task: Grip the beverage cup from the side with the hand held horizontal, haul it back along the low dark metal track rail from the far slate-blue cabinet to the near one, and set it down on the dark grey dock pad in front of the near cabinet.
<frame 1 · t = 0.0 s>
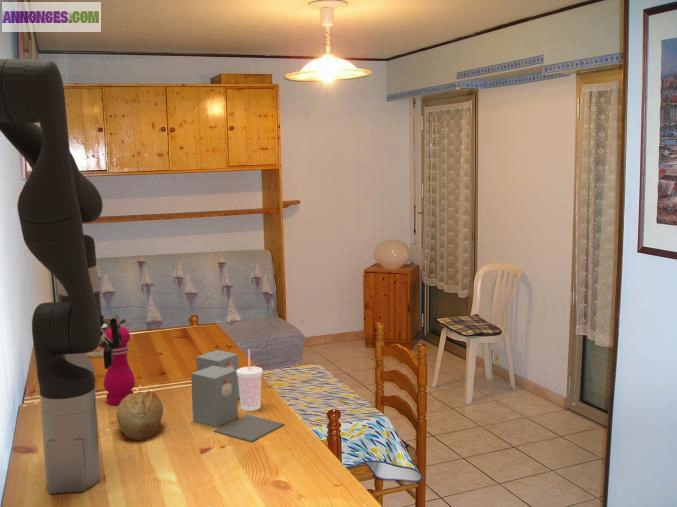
hand: (85, 368, 137), 17 cm above the table, tool pointing down, fingers open, 8 cm apart
bread roll: (141, 430, 151), on the table
pepper mill: (120, 401, 169), on the table
far cabinet: (218, 399, 169), on the table
near cabinet dock: (215, 419, 156), on the table
pastry: (216, 377, 187), on the table
track rail: (217, 408, 163), on the table
beverage cup: (250, 408, 163), on the table
coffee pot: (91, 380, 185), on the table
teacup with lid: (105, 353, 211), on the table
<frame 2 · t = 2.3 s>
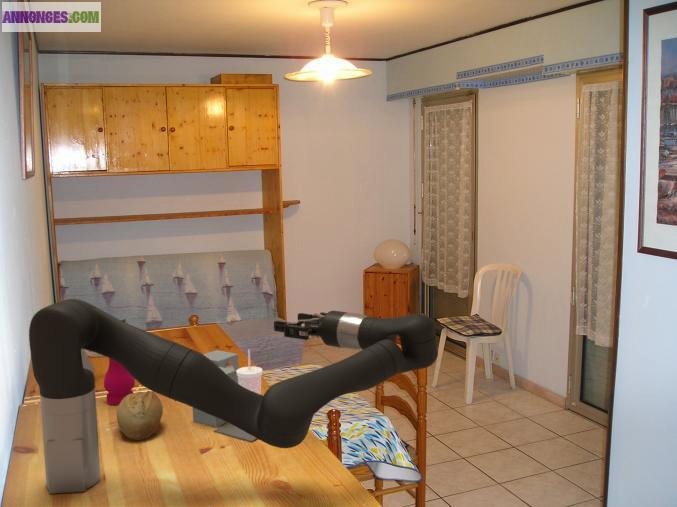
hand: (287, 321, 154), 22 cm above the table, tool horizontal, fingers open, 8 cm apart
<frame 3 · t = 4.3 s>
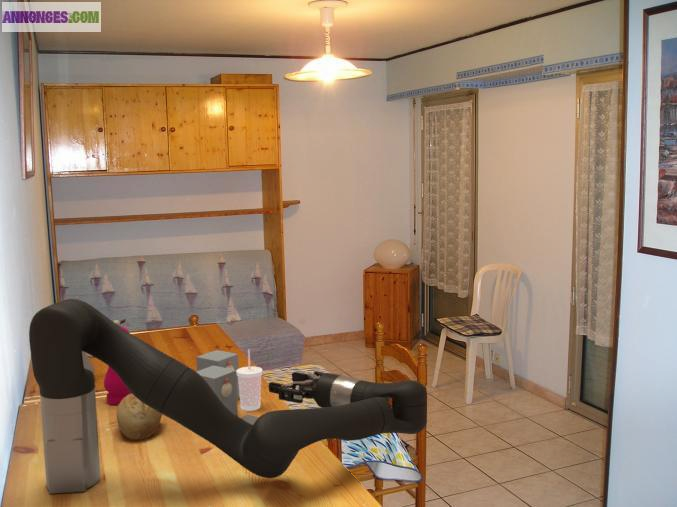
hand: (281, 381, 158), 8 cm above the table, tool horizontal, fingers open, 8 cm apart
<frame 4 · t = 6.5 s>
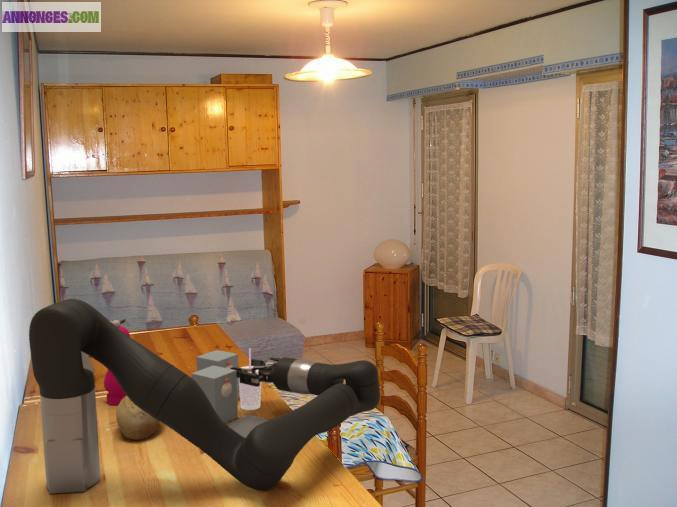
hand: (240, 367, 164), 9 cm above the table, tool horizontal, fingers closed on beverage cup, 6 cm apart
beverage cup: (250, 407, 163), on the table, touching gripper
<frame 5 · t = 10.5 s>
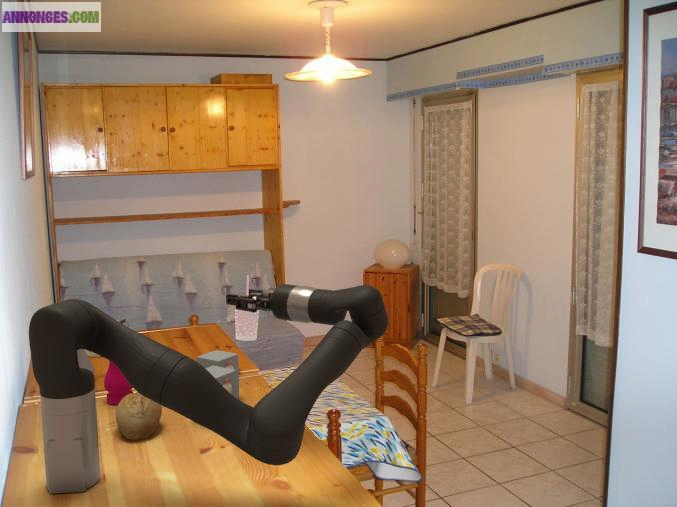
hand: (237, 296, 153), 28 cm above the table, tool horizontal, fingers closed on beverage cup, 6 cm apart
beverage cup: (246, 339, 152), point 19 cm above the table, touching gripper
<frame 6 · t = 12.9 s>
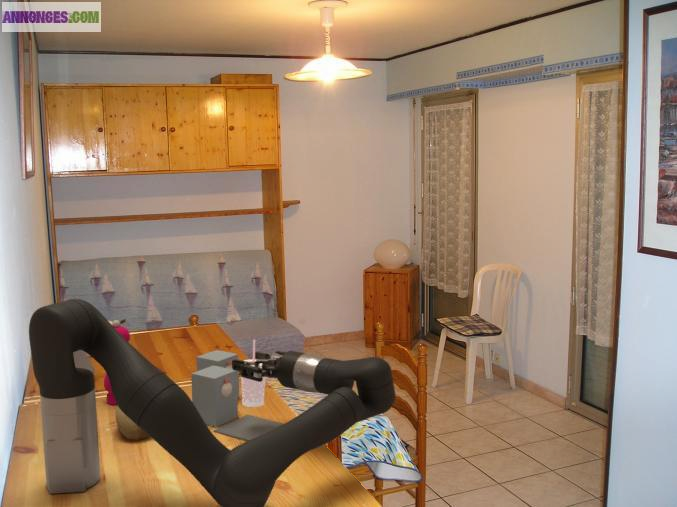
hand: (244, 360, 150), 15 cm above the table, tool horizontal, fingers closed on beverage cup, 6 cm apart
beverage cup: (252, 404, 149), point 5 cm above the table, touching gripper
when the fingers open (10 cm above the table, at t = 14.5 s): beverage cup stays where it is, resting on near cabinet dock.
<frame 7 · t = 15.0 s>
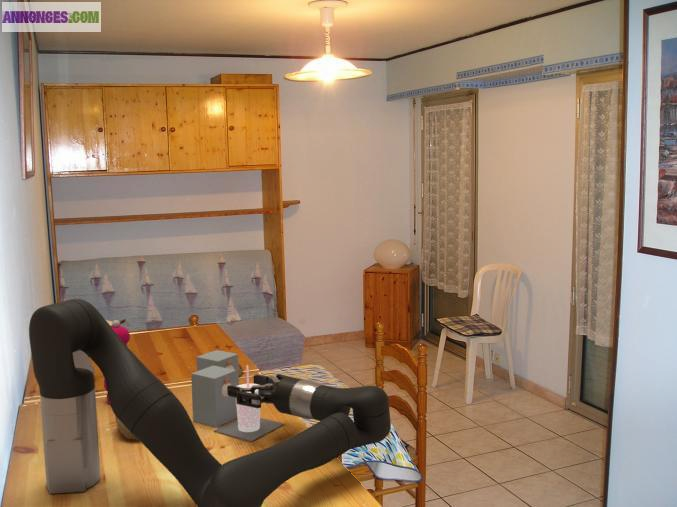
hand: (241, 384, 150), 9 cm above the table, tool horizontal, fingers open, 8 cm apart
beverage cup: (249, 428, 150), resting on near cabinet dock
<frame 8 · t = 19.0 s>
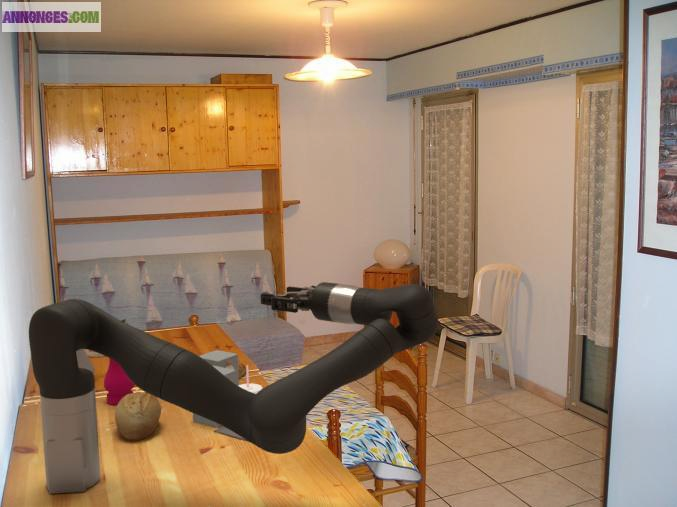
hand: (274, 294, 143), 30 cm above the table, tool horizontal, fingers open, 8 cm apart
at the end: beverage cup inside the target area on the near cabinet dock (0.6 cm from its centre), point 0.1 cm above the near cabinet dock's base; beverage cup tilted 0°; the gripper is holding nothing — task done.
